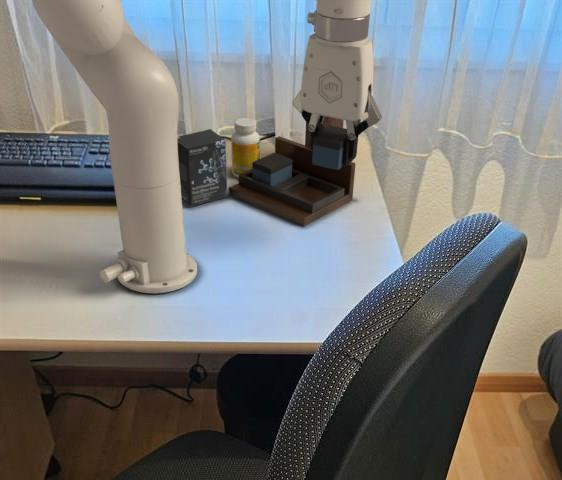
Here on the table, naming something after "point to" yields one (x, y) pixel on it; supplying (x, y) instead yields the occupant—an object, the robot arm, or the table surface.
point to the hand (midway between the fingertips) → (333, 158)
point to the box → (202, 167)
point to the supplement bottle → (244, 146)
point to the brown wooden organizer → (299, 187)
